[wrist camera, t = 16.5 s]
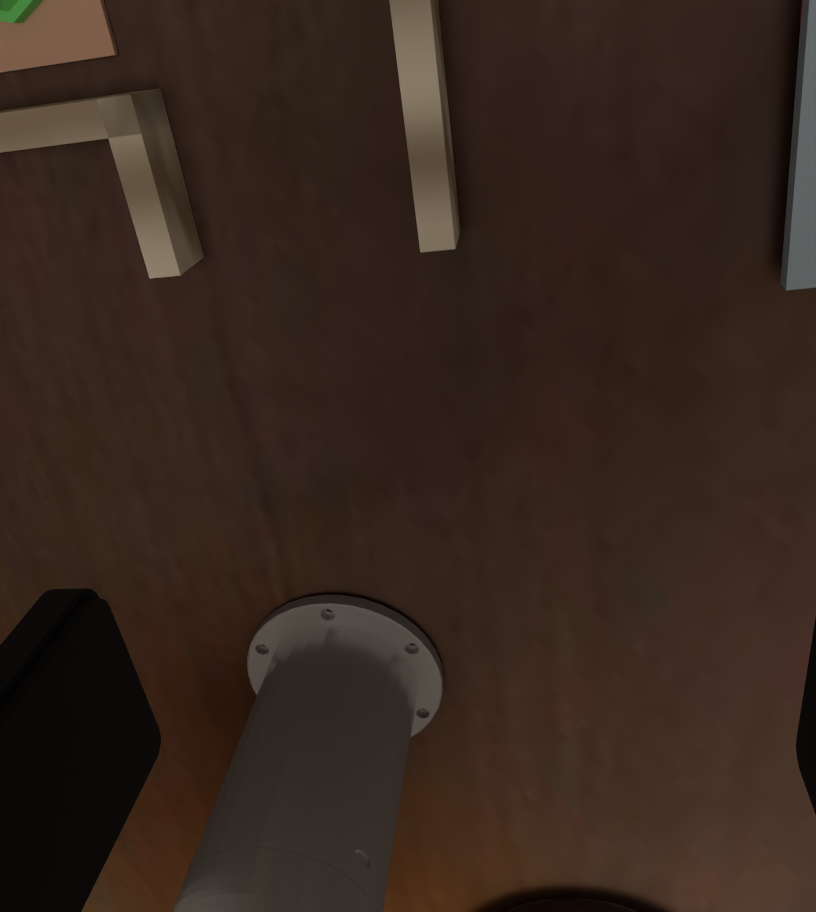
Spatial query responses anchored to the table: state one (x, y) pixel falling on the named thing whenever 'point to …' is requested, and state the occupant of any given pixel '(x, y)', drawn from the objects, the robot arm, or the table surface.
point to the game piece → (17, 10)
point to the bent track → (151, 141)
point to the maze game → (802, 165)
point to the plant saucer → (570, 906)
